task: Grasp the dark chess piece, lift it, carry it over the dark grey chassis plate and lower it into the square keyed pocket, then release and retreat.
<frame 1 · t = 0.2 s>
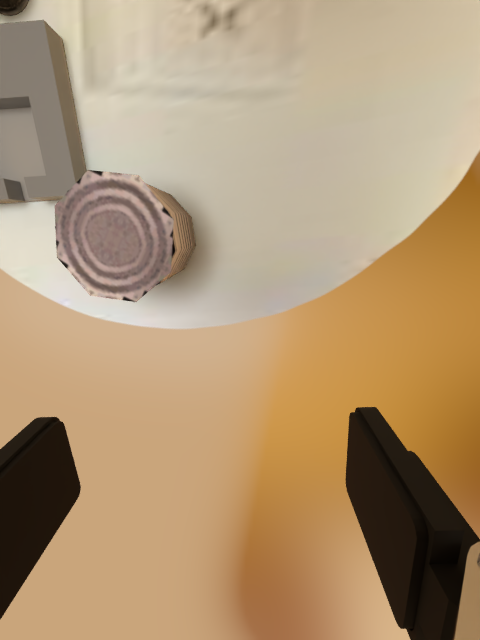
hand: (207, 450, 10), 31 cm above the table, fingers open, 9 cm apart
chassis plate: (19, 127, 35), on the table
can: (153, 236, 38), on the table
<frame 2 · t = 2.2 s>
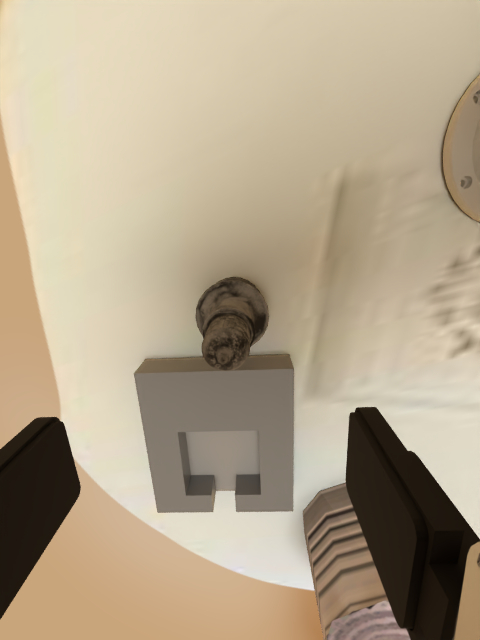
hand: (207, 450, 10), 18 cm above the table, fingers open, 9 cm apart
chassis plate: (222, 427, 31), on the table
can: (349, 518, 34), on the table
dark chess piece: (234, 305, 27), on the table
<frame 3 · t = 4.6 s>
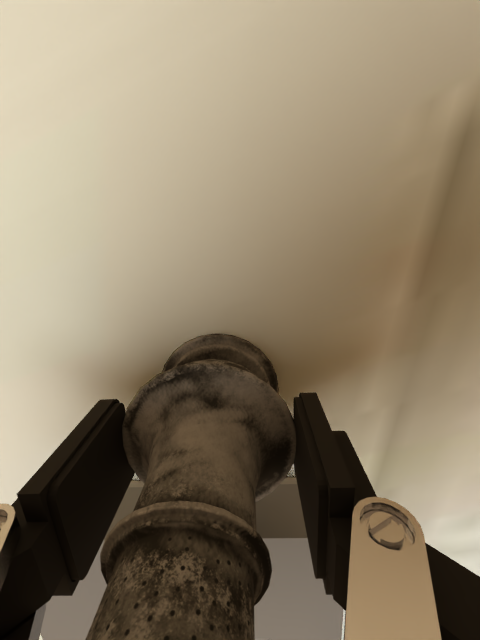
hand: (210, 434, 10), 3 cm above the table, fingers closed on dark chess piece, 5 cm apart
chassis plate: (201, 590, 17), on the table
dark chess piece: (219, 387, 13), on the table, touching gripper
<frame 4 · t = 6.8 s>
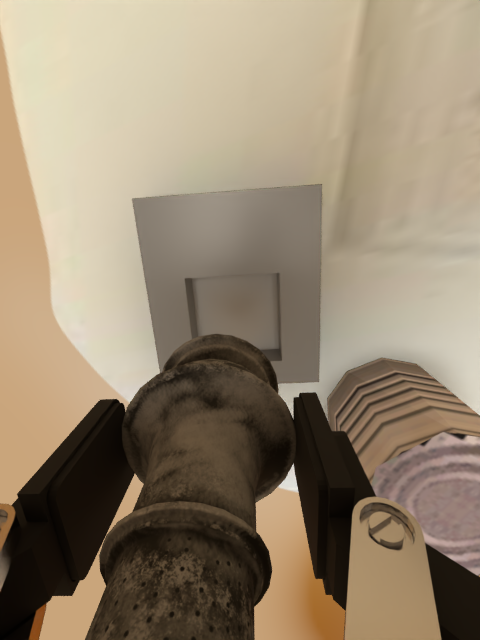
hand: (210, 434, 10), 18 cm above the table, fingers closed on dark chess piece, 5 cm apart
chassis plate: (235, 290, 27), on the table
can: (380, 406, 30), on the table
dark chess piece: (219, 387, 13), point 15 cm above the table, touching gripper
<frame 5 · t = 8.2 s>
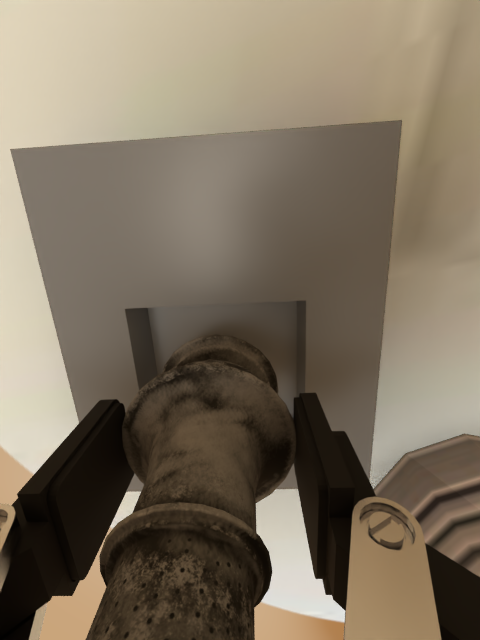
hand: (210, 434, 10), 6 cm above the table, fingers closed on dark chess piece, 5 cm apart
chassis plate: (223, 323, 16), on the table
can: (454, 504, 19), on the table
dark chess piece: (219, 387, 13), point 3 cm above the table, touching gripper
when the fingers open (4 cm above the table, at t = 9.3 s): dark chess piece stays where it is, resting on chassis plate.
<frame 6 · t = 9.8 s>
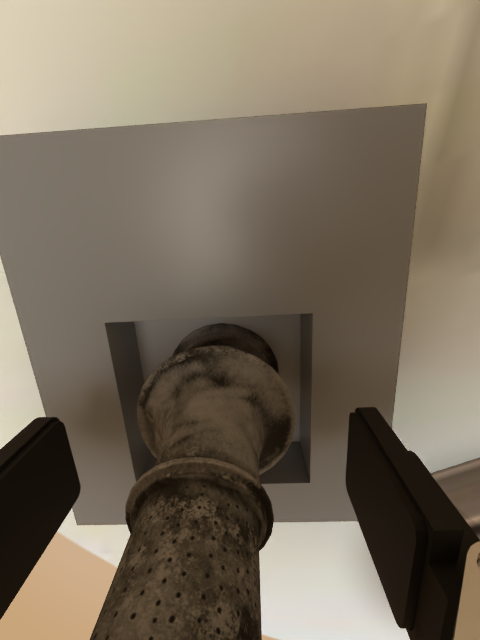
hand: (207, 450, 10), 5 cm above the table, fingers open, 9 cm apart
chassis plate: (218, 336, 14), on the table
can: (471, 531, 17), on the table
dark chess piece: (224, 373, 14), resting on chassis plate
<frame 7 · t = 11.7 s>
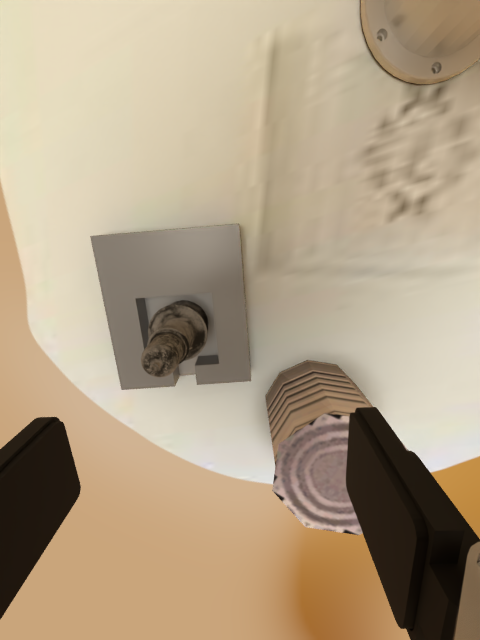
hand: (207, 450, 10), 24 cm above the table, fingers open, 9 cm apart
chassis plate: (181, 306, 32), on the table
can: (311, 402, 36), on the table
dark chess piece: (184, 323, 33), resting on chassis plate
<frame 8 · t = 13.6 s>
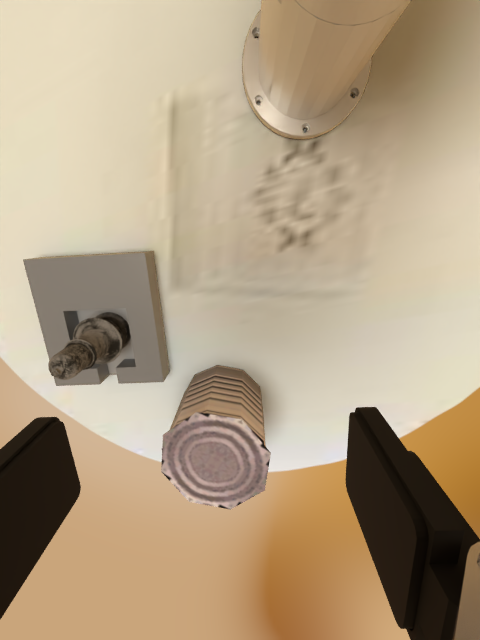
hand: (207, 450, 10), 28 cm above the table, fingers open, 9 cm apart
chassis plate: (108, 317, 38), on the table
can: (223, 400, 42), on the table
dark chess piece: (111, 331, 39), resting on chassis plate
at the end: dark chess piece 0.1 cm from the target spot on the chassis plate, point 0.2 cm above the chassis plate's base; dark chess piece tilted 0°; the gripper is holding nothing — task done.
